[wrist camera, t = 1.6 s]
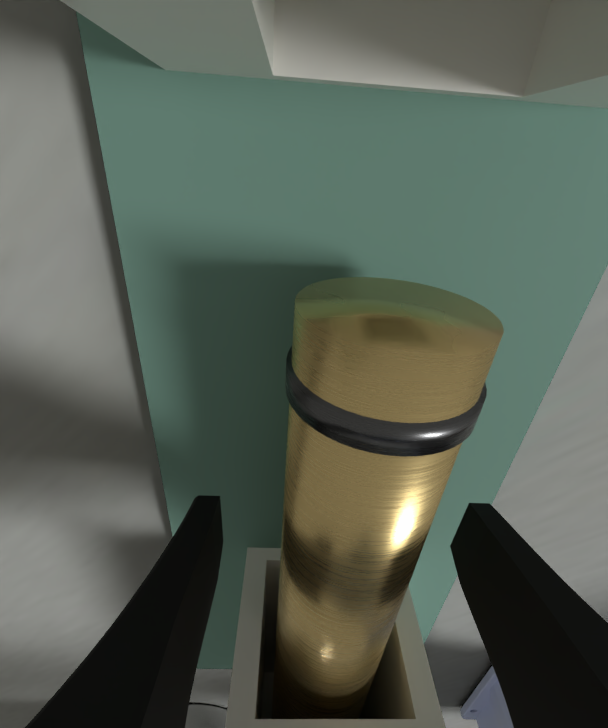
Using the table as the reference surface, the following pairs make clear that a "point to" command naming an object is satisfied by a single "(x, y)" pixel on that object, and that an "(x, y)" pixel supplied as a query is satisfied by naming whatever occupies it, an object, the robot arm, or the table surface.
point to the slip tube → (366, 471)
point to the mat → (332, 266)
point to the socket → (379, 43)
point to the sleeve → (257, 658)
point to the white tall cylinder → (205, 716)
